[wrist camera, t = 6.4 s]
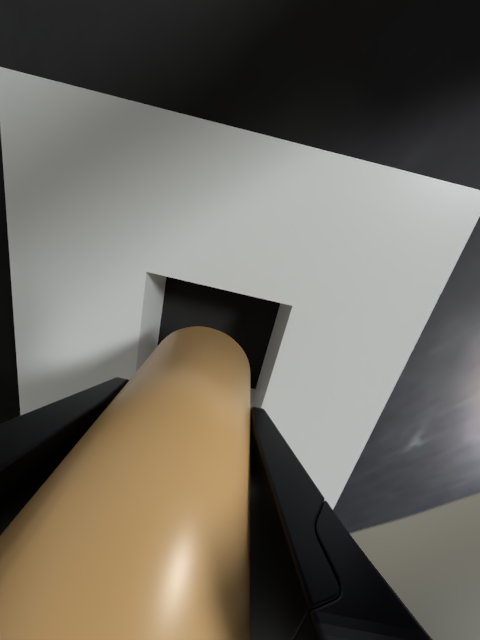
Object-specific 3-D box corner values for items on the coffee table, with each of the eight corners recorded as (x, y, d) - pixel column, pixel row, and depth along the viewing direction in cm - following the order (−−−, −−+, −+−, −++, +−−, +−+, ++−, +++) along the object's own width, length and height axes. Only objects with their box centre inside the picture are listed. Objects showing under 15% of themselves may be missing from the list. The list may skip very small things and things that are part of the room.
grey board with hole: (434, 202, 12) (491, 193, 9) (286, 539, 20) (293, 589, 17) (59, 107, 11) (-4, 65, 9) (61, 494, 19) (29, 539, 17)
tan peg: (261, 339, 10) (300, 729, 2) (238, 422, 11) (209, 850, 3) (157, 315, 9) (-210, 641, 2) (146, 402, 11) (-100, 801, 3)
